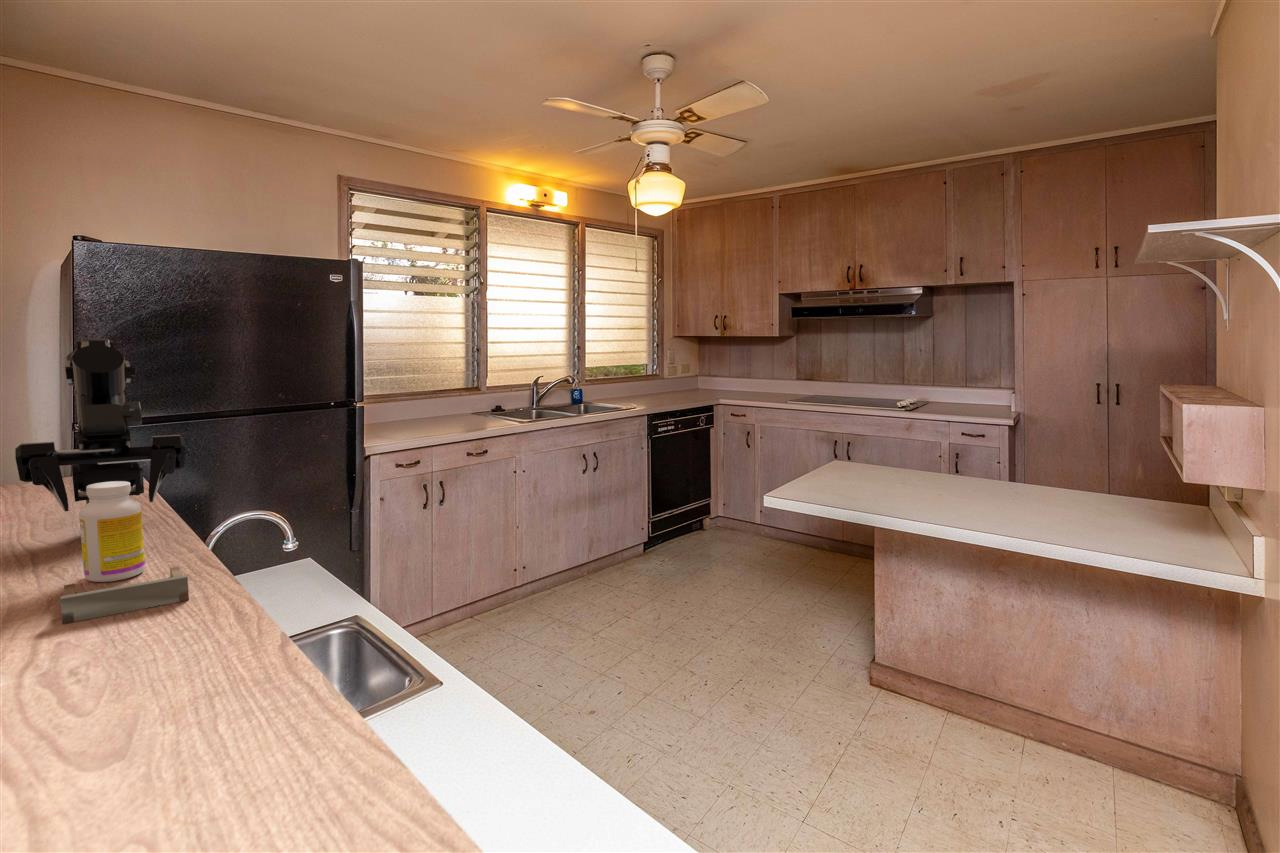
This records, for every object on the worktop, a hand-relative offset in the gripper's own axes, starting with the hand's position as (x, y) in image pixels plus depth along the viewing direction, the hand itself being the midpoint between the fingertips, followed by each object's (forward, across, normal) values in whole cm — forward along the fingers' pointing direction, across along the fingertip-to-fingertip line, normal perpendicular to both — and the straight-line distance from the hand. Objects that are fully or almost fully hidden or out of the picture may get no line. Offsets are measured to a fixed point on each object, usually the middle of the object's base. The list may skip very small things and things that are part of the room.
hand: (110, 504), depth 91 cm
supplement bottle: (+8, 0, +5) cm, 10 cm away
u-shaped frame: (+16, +1, -2) cm, 16 cm away
